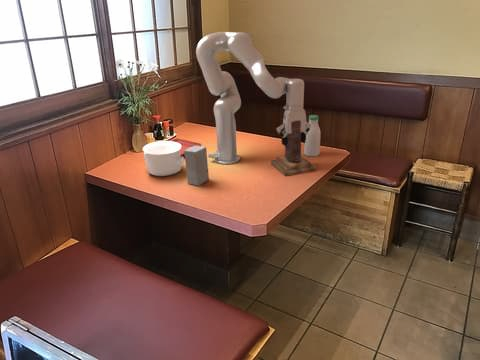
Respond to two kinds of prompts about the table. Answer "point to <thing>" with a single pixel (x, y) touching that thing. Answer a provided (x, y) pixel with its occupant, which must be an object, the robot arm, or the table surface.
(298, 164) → the plinth
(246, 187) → the table surface
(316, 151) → the milk bottle
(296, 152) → the dark brown rough cylinder
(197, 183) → the skincare box
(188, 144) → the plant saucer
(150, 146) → the pot
